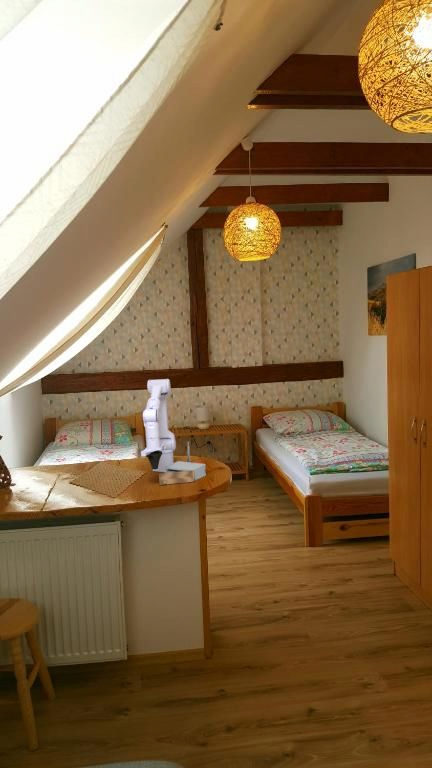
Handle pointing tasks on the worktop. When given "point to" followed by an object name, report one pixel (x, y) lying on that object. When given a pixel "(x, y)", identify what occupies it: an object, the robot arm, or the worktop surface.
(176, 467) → the cabinet
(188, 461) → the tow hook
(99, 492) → the worktop surface
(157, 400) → the robot arm
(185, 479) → the door
